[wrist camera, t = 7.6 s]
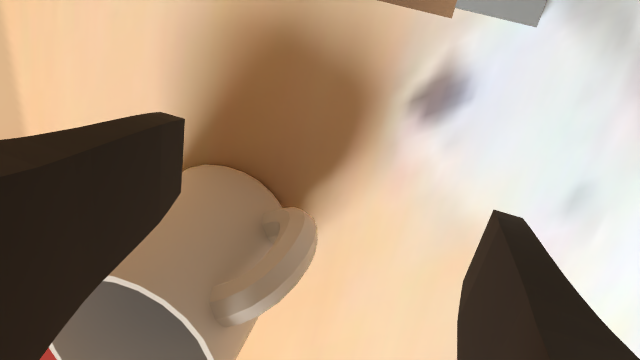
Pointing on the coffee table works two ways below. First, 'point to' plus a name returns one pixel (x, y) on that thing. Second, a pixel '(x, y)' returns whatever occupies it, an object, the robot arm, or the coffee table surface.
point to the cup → (196, 275)
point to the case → (428, 6)
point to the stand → (506, 9)
